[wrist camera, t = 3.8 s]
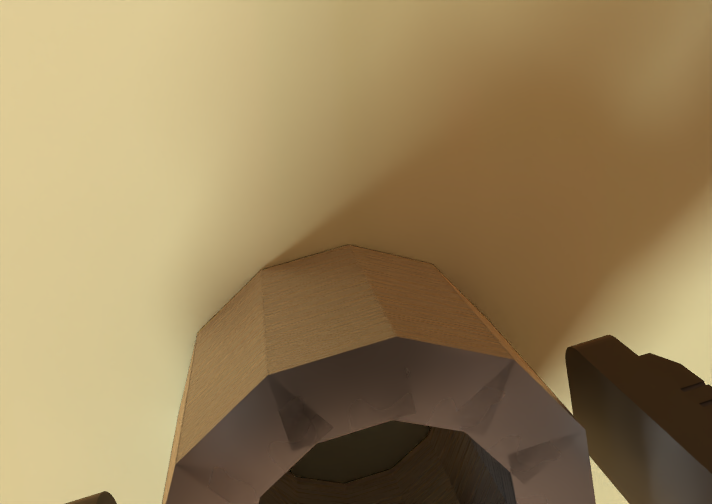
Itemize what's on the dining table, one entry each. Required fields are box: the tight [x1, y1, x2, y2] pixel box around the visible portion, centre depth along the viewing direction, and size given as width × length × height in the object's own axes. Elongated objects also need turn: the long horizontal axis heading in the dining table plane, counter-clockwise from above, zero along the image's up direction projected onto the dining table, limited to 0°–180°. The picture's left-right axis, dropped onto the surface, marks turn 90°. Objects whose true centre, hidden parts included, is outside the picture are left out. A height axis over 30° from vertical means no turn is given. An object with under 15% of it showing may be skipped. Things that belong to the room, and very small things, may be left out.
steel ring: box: [162, 245, 596, 504], centre depth 11 cm, size 6×6×4 cm
